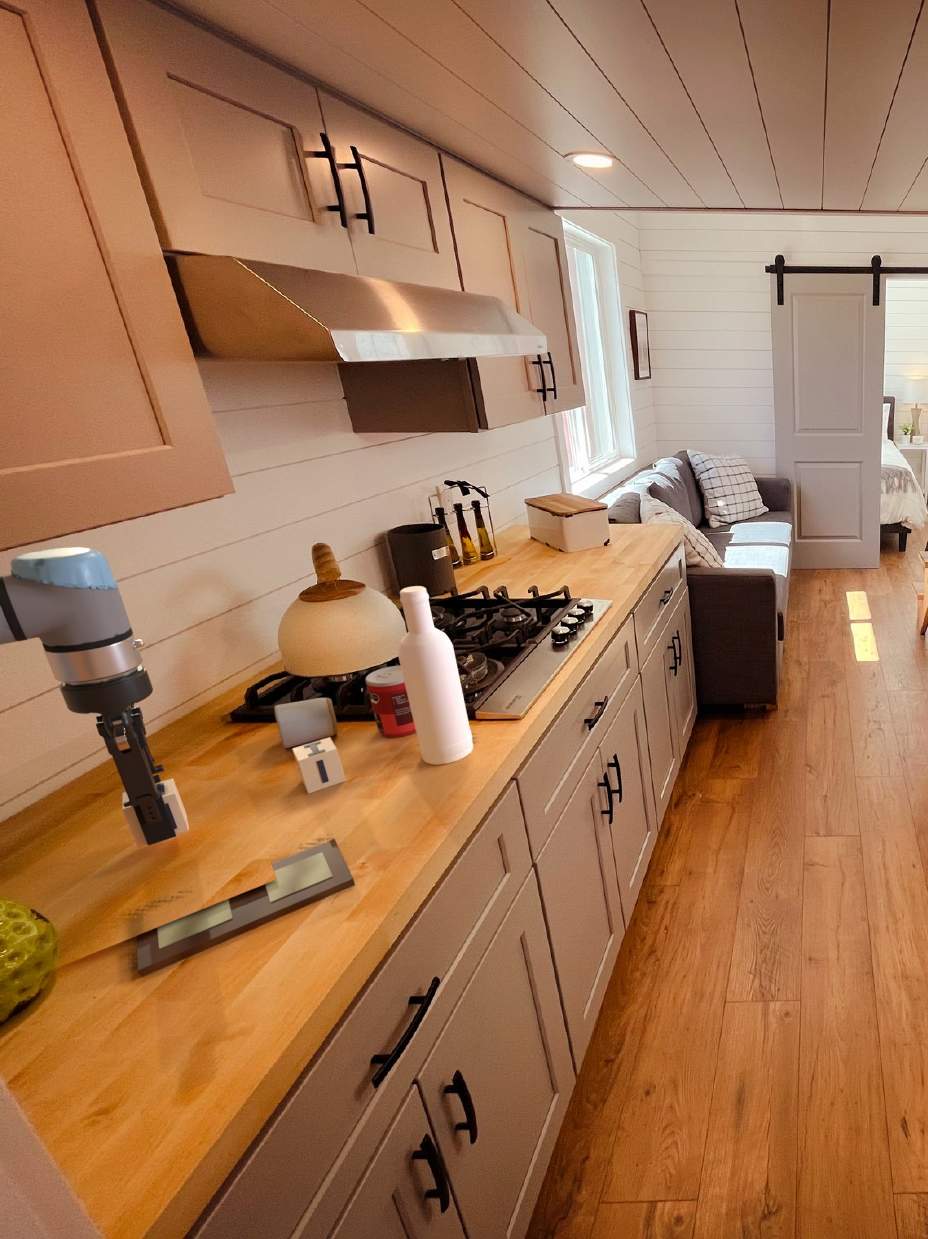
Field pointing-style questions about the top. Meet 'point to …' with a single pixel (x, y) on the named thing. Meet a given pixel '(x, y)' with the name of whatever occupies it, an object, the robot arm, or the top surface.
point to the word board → (247, 907)
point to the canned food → (390, 702)
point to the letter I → (319, 765)
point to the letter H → (173, 808)
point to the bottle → (432, 683)
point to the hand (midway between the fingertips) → (160, 829)
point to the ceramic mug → (305, 721)
